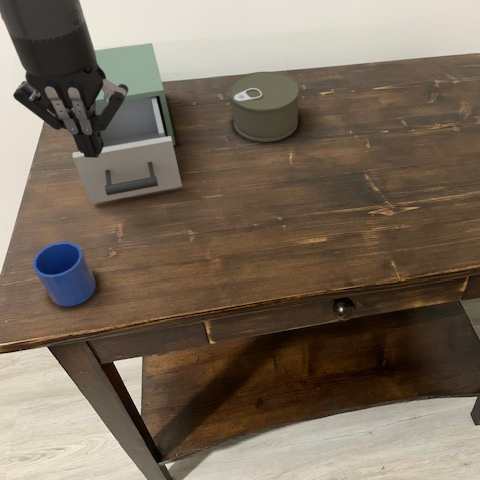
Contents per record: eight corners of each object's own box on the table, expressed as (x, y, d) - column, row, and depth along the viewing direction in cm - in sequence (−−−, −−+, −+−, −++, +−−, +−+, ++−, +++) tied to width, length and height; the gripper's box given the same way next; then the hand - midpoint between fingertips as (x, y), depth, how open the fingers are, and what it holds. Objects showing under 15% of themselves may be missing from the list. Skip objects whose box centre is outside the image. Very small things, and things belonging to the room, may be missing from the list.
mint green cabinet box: (175, 145, 92) (163, 89, 84) (85, 160, 88) (64, 104, 80) (163, 96, 102) (151, 42, 94) (82, 108, 98) (63, 54, 90)
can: (311, 130, 96) (311, 96, 91) (251, 150, 91) (248, 116, 86) (279, 97, 102) (277, 65, 97) (222, 115, 98) (217, 82, 93)
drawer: (187, 207, 80) (177, 161, 74) (92, 226, 77) (73, 180, 70) (169, 132, 92) (159, 87, 86) (87, 146, 89) (70, 100, 83)
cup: (50, 311, 68) (32, 281, 63) (50, 278, 72) (33, 247, 67) (97, 300, 69) (82, 270, 65) (94, 268, 73) (81, 237, 68)
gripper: (119, 5, 57) (152, 137, 70) (-4, 1, 57) (51, 134, 70) (99, 39, 52) (138, 174, 65) (-37, 34, 52) (29, 171, 65)
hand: (93, 153), depth 67 cm, fingers closed
